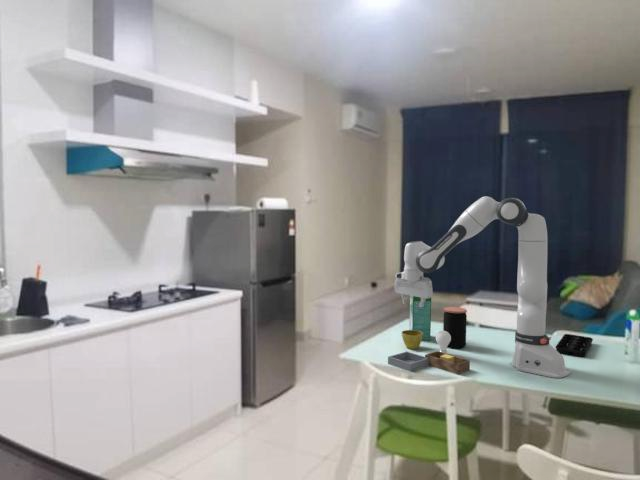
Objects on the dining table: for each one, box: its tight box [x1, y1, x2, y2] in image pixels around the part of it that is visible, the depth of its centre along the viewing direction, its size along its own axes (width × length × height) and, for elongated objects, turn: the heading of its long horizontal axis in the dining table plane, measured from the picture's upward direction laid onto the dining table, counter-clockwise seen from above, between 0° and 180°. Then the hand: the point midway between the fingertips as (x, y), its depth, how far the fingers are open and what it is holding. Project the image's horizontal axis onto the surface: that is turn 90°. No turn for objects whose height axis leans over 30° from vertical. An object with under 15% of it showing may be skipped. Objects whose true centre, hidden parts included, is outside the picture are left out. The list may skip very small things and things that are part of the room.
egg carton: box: [555, 333, 594, 358], centre depth 226 cm, size 18×30×4 cm, turn 157°
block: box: [440, 353, 455, 363], centre depth 196 cm, size 4×4×4 cm
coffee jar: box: [442, 306, 468, 350], centre depth 228 cm, size 11×11×18 cm
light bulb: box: [435, 330, 451, 354], centre depth 214 cm, size 7×7×11 cm
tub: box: [387, 351, 429, 372], centre depth 199 cm, size 12×12×4 cm
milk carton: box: [408, 295, 432, 341], centre depth 242 cm, size 9×9×25 cm
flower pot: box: [401, 329, 423, 350], centre depth 225 cm, size 10×10×7 cm
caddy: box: [424, 350, 471, 375], centre depth 196 cm, size 16×8×4 cm, turn 40°
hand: (413, 305), depth 221 cm, fingers open, 8 cm apart
